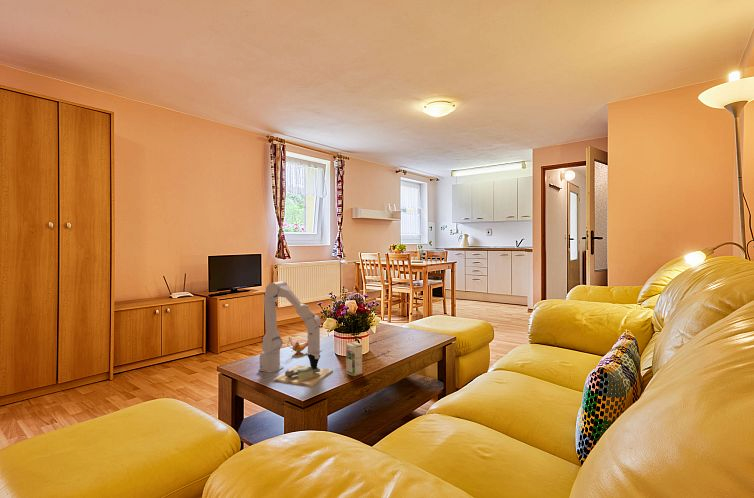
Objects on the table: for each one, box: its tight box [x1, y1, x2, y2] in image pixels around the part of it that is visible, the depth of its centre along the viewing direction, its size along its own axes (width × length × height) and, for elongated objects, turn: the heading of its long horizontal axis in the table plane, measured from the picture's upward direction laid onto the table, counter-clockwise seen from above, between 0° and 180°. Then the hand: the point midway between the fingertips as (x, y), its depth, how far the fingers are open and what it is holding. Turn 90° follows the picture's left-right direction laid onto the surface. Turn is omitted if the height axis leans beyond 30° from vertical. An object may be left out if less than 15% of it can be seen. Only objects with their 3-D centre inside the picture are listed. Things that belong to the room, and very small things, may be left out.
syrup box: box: [345, 341, 363, 377], centre depth 179 cm, size 6×6×14 cm
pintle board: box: [272, 365, 334, 387], centre depth 176 cm, size 20×20×2 cm
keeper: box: [297, 366, 313, 379], centre depth 172 cm, size 6×4×4 cm, turn 110°
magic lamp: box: [286, 336, 308, 357], centre depth 212 cm, size 7×18×11 cm, turn 137°
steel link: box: [284, 366, 321, 377], centre depth 174 cm, size 16×4×2 cm, turn 113°
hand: (313, 369), depth 179 cm, fingers closed
